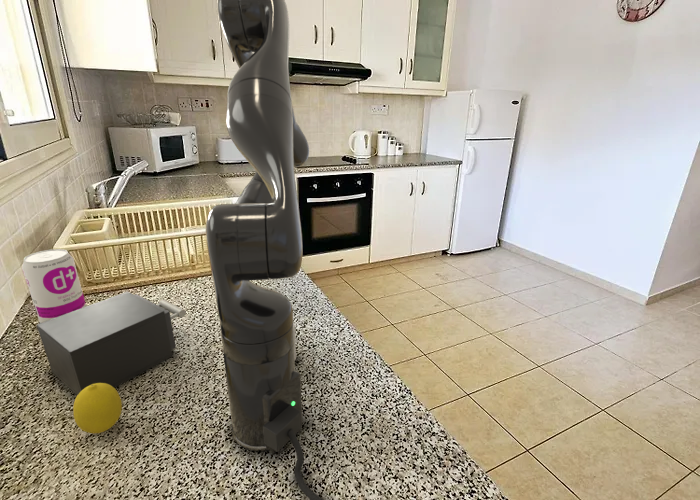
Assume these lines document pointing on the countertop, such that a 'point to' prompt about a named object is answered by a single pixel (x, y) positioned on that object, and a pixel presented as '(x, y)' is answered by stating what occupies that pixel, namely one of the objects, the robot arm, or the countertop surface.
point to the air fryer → (106, 341)
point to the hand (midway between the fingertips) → (215, 270)
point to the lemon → (97, 408)
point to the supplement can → (53, 283)
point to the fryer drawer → (168, 315)
